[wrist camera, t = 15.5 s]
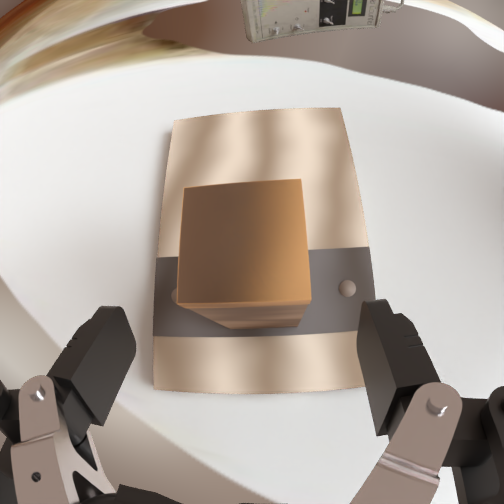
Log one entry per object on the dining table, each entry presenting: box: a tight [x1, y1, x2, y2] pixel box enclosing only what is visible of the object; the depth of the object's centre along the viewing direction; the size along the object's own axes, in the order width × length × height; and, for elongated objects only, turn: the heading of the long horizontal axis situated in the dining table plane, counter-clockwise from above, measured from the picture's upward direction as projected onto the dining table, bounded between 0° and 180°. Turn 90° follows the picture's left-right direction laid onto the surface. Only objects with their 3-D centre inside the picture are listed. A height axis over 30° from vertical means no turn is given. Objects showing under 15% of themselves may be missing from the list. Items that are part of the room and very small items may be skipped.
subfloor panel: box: [153, 108, 376, 394], centre depth 24 cm, size 16×24×2 cm, turn 1°
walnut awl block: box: [177, 179, 312, 329], centre depth 16 cm, size 5×5×11 cm
